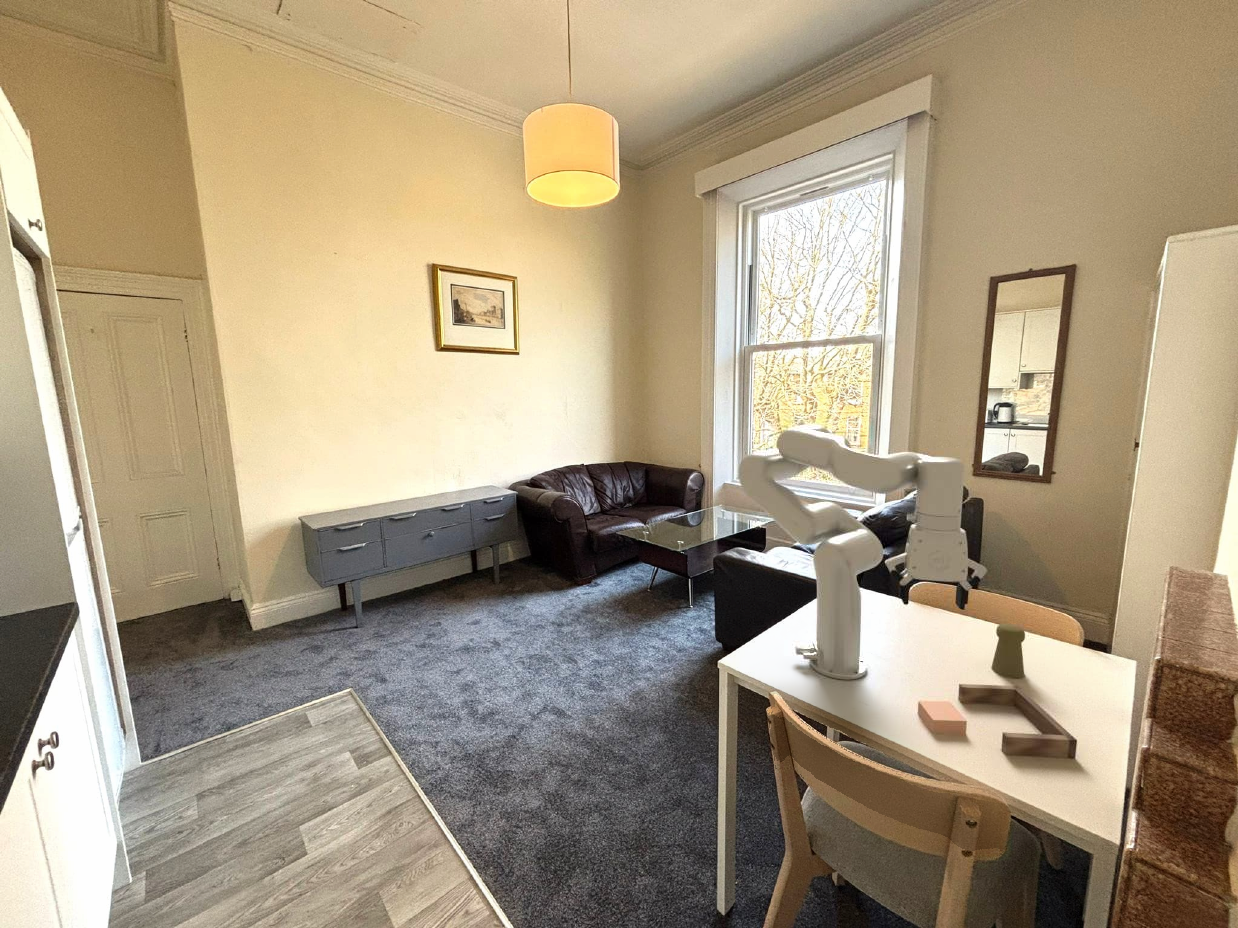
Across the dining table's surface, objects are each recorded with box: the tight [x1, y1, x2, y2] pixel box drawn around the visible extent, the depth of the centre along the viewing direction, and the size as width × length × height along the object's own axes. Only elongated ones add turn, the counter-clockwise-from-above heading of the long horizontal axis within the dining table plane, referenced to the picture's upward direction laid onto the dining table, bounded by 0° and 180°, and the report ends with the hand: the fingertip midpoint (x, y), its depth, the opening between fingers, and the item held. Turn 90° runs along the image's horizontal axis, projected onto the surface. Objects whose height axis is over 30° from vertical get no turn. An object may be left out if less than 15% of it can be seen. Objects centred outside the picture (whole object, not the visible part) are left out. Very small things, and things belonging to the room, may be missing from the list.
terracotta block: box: [917, 700, 968, 735], centre depth 100 cm, size 6×6×3 cm
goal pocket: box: [957, 683, 1078, 759], centre depth 98 cm, size 11×16×4 cm
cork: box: [991, 622, 1026, 680], centre depth 116 cm, size 6×6×11 cm
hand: (931, 604), depth 102 cm, fingers open, 9 cm apart
